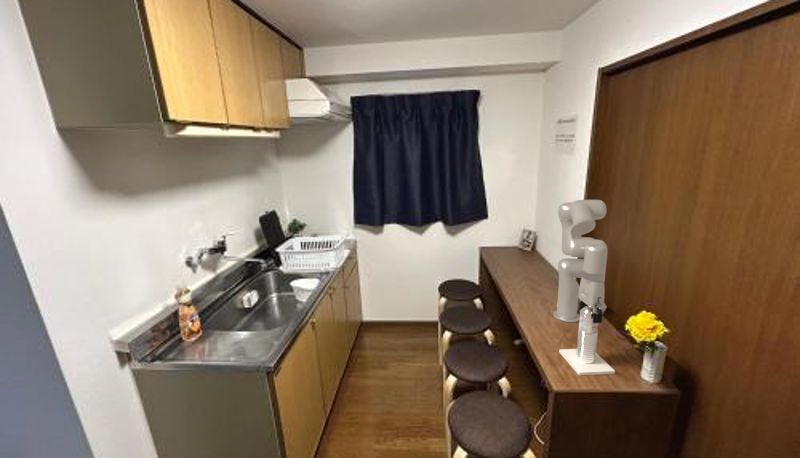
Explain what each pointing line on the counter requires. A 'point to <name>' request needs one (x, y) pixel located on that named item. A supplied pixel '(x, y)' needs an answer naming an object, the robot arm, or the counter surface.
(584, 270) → the robot arm
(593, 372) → the board
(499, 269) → the counter surface
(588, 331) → the water bottle
